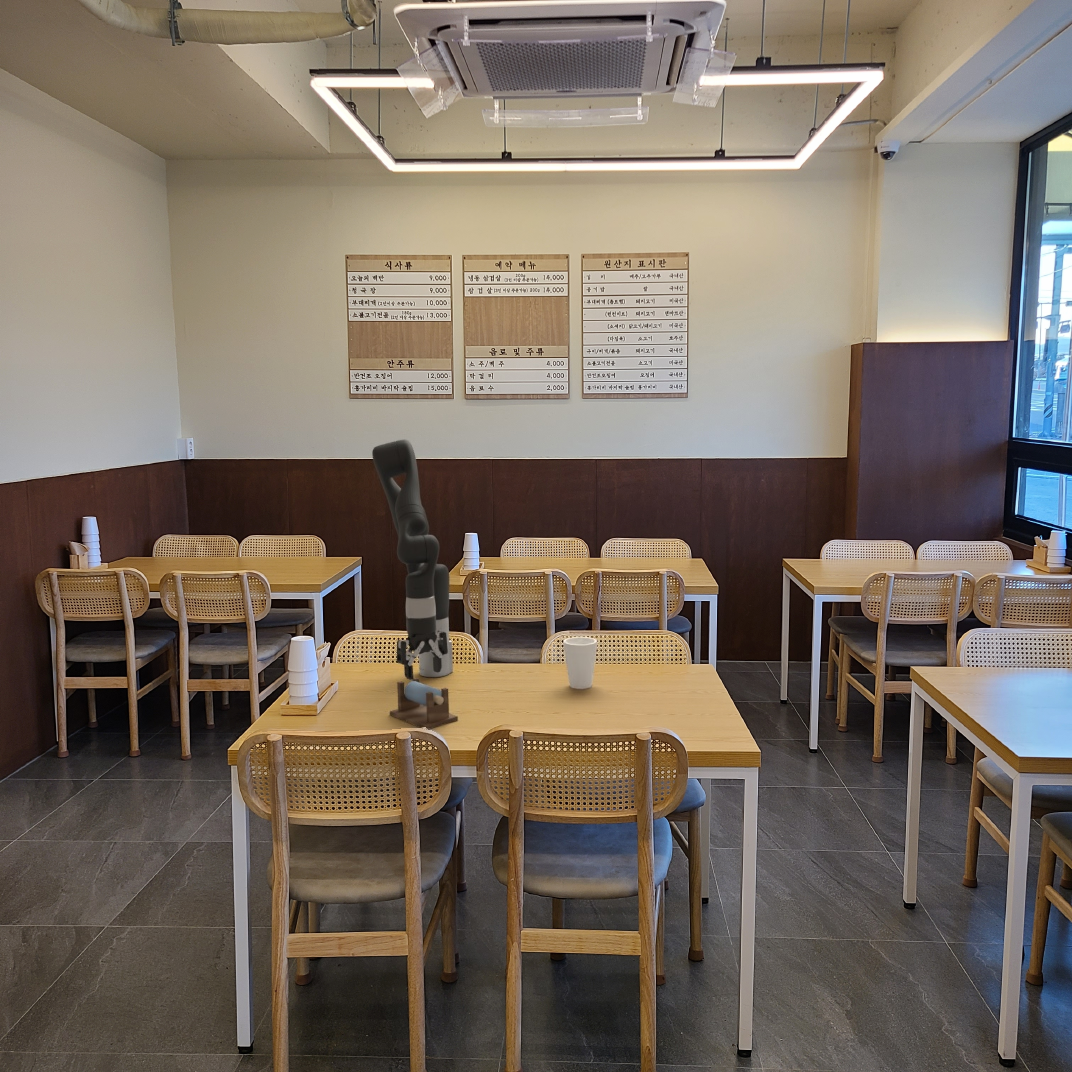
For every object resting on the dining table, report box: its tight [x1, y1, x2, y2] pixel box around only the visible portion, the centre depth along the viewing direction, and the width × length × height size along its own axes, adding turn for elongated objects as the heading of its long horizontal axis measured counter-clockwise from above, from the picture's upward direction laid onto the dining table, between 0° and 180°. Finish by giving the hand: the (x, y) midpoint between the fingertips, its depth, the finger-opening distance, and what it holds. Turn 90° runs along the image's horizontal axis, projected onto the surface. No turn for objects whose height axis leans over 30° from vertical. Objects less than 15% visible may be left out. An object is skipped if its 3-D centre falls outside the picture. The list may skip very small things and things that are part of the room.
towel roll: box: [404, 681, 444, 706], centre depth 239 cm, size 14×5×5 cm, turn 42°
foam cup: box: [563, 636, 598, 690], centre depth 264 cm, size 10×9×13 cm
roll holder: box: [389, 677, 459, 729], centre depth 239 cm, size 16×10×8 cm, turn 42°
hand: (423, 675), depth 238 cm, fingers open, 8 cm apart
